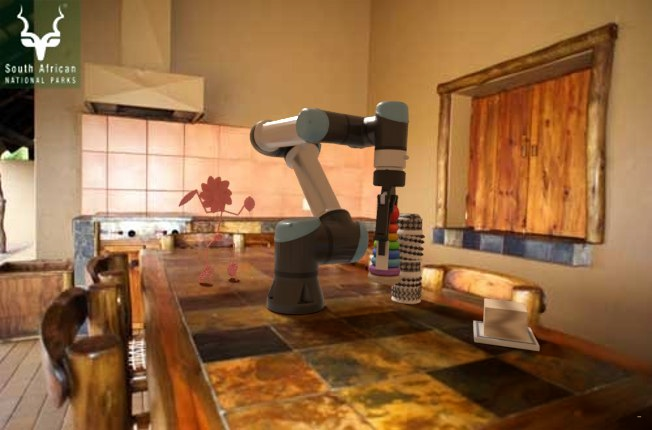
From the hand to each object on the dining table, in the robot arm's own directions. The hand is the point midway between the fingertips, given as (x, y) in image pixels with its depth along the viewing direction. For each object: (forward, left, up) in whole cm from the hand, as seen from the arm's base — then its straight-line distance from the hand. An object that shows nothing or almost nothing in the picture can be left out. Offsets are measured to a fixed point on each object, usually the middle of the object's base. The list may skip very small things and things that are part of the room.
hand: (385, 266), depth 94 cm
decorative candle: (+2, +22, -13) cm, 26 cm away
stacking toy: (0, 0, -4) cm, 4 cm away
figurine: (-62, +20, -13) cm, 66 cm away
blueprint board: (+26, 0, -13) cm, 29 cm away
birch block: (+26, 0, -12) cm, 29 cm away
